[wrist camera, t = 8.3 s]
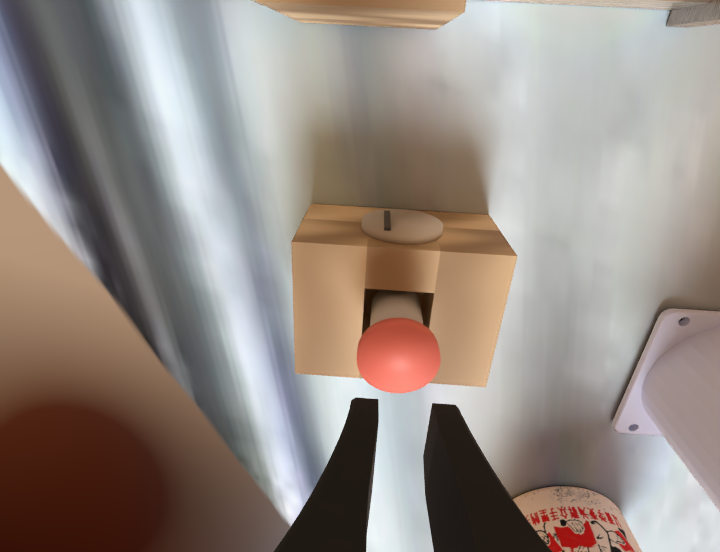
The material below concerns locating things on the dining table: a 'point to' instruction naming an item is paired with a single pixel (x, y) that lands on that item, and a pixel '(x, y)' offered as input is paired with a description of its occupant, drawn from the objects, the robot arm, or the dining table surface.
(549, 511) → the teacup with lid
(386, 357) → the plunger
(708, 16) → the rail
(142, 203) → the dining table surface
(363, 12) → the block
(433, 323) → the wooden box with dial
